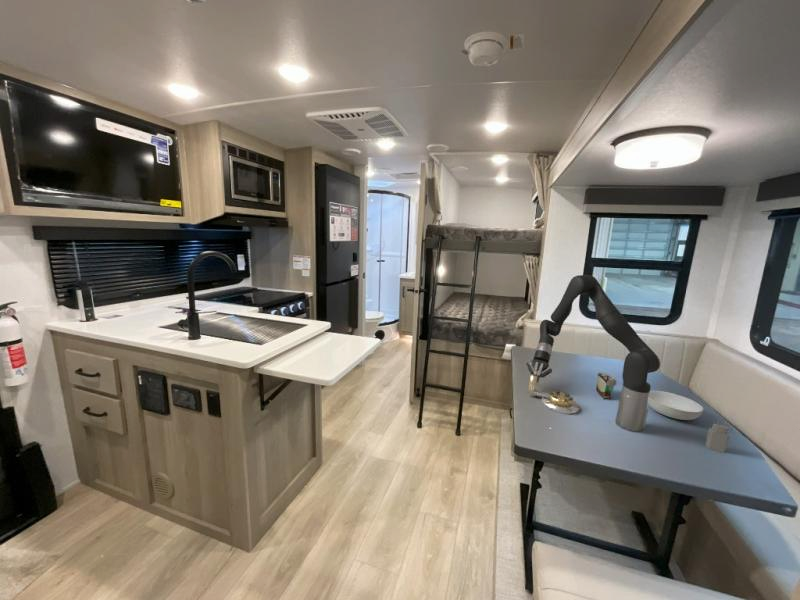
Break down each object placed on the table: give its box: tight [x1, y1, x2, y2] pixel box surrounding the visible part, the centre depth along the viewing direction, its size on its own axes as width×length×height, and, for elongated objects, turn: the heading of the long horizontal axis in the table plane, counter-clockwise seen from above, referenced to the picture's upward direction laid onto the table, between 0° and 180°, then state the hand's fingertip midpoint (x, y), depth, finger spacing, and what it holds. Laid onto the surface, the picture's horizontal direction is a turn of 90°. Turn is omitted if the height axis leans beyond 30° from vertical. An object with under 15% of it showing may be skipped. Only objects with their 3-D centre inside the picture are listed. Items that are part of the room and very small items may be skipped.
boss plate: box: [541, 396, 580, 415], centre depth 153 cm, size 16×16×2 cm
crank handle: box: [527, 373, 574, 407], centre depth 154 cm, size 20×10×9 cm, turn 56°
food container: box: [595, 372, 617, 400], centre depth 166 cm, size 12×6×10 cm, turn 168°
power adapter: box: [704, 419, 731, 453], centre depth 125 cm, size 3×5×12 cm, turn 60°
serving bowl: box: [647, 390, 704, 421], centre depth 151 cm, size 21×21×7 cm
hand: (534, 382), depth 163 cm, fingers closed
